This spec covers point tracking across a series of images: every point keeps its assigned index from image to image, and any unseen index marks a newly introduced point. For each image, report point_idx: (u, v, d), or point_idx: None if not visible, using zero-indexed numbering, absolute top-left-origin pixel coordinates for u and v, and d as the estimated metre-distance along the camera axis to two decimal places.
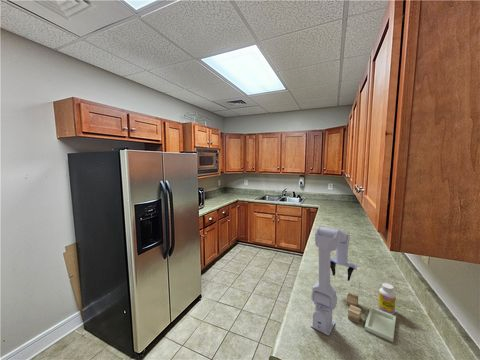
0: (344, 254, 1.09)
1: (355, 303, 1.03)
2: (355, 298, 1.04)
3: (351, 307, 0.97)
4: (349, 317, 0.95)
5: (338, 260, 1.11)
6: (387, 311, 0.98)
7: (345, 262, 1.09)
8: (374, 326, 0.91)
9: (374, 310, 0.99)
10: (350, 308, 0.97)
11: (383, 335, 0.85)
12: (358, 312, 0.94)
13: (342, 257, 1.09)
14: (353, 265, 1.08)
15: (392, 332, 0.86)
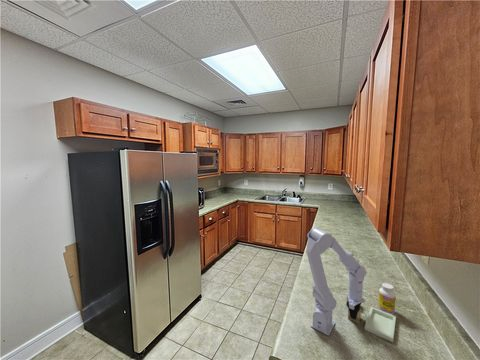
0: (354, 288, 0.93)
1: None
2: None
3: None
4: (349, 317, 0.95)
5: None
6: (387, 311, 0.98)
7: (350, 296, 0.95)
8: (374, 326, 0.91)
9: (374, 310, 0.99)
10: None
11: (383, 335, 0.85)
12: (358, 312, 0.94)
13: (348, 288, 0.96)
14: (351, 303, 0.91)
15: (392, 332, 0.86)
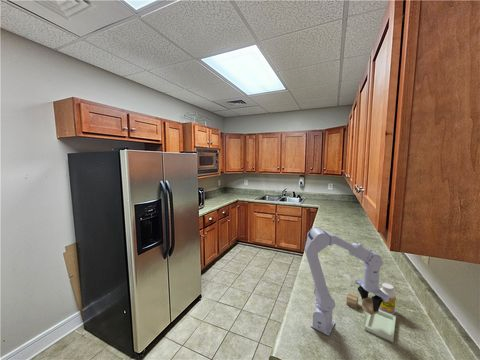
0: (368, 278, 0.89)
1: (355, 303, 1.03)
2: (355, 298, 1.04)
3: (367, 301, 0.91)
4: (372, 312, 0.89)
5: (364, 285, 0.91)
6: (387, 311, 0.98)
7: (373, 289, 0.88)
8: (374, 326, 0.91)
9: None
10: (369, 302, 0.90)
11: (383, 335, 0.85)
12: None
13: (369, 282, 0.89)
14: (384, 295, 0.85)
15: (392, 332, 0.86)
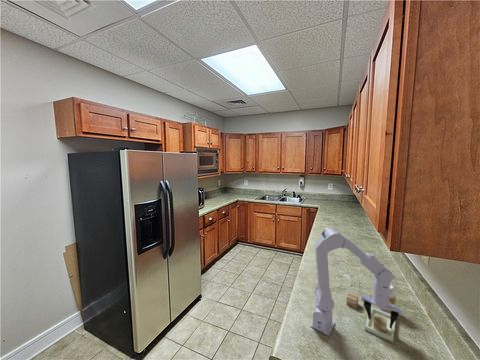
0: (378, 293, 0.87)
1: (355, 303, 1.03)
2: (355, 298, 1.04)
3: (378, 320, 0.88)
4: None
5: (377, 302, 0.87)
6: (387, 311, 0.98)
7: (387, 305, 0.86)
8: None
9: (374, 310, 0.99)
10: (381, 322, 0.87)
11: (383, 335, 0.85)
12: (383, 318, 0.90)
13: (383, 298, 0.85)
14: (397, 309, 0.84)
15: (392, 332, 0.86)
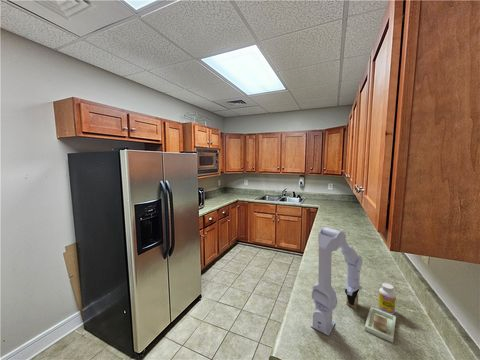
0: (354, 277, 1.02)
1: (355, 303, 1.03)
2: (355, 298, 1.04)
3: (378, 320, 0.88)
4: None
5: None
6: (387, 311, 0.98)
7: (348, 284, 1.04)
8: None
9: (374, 310, 0.99)
10: (381, 322, 0.87)
11: (383, 335, 0.85)
12: (383, 318, 0.90)
13: (347, 277, 1.06)
14: (349, 290, 1.01)
15: (392, 332, 0.86)
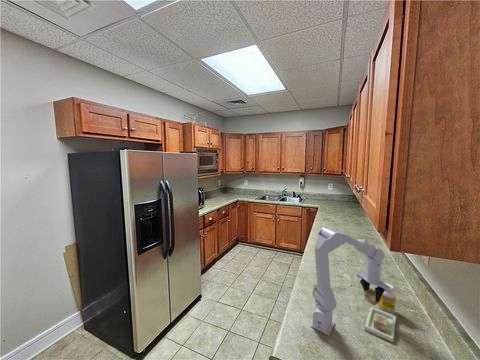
0: (372, 271, 0.94)
1: None
2: None
3: (378, 320, 0.88)
4: None
5: (367, 277, 0.96)
6: (387, 311, 0.98)
7: (376, 281, 0.94)
8: None
9: (374, 310, 0.99)
10: (381, 322, 0.87)
11: (383, 335, 0.85)
12: (383, 318, 0.90)
13: (372, 275, 0.95)
14: (386, 286, 0.92)
15: (392, 332, 0.86)
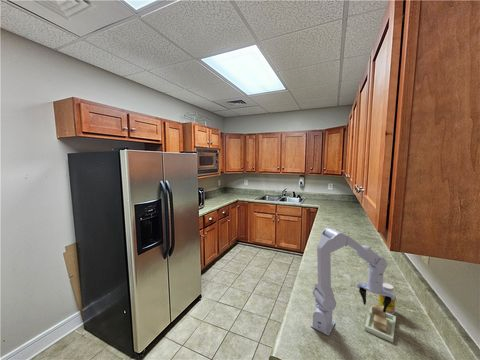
0: (374, 280, 0.93)
1: None
2: (380, 306, 0.96)
3: (378, 320, 0.88)
4: None
5: (372, 288, 0.94)
6: (387, 311, 0.98)
7: (380, 290, 0.93)
8: None
9: None
10: (381, 322, 0.87)
11: (383, 335, 0.85)
12: (383, 318, 0.90)
13: (377, 284, 0.93)
14: (390, 294, 0.92)
15: (392, 332, 0.86)
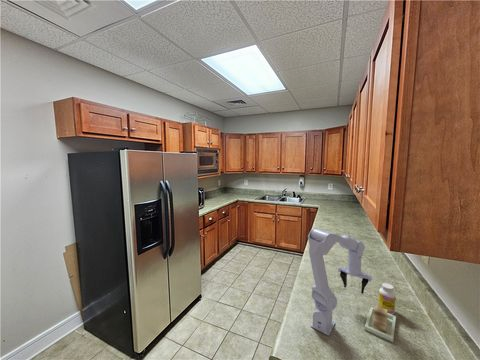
0: (355, 264, 0.98)
1: None
2: (383, 309, 0.95)
3: (378, 320, 0.88)
4: None
5: (351, 271, 1.00)
6: (387, 311, 0.98)
7: (359, 273, 0.99)
8: None
9: (374, 310, 0.99)
10: (381, 322, 0.87)
11: (383, 335, 0.85)
12: (383, 318, 0.90)
13: (355, 267, 0.99)
14: (368, 276, 0.97)
15: (392, 332, 0.86)
